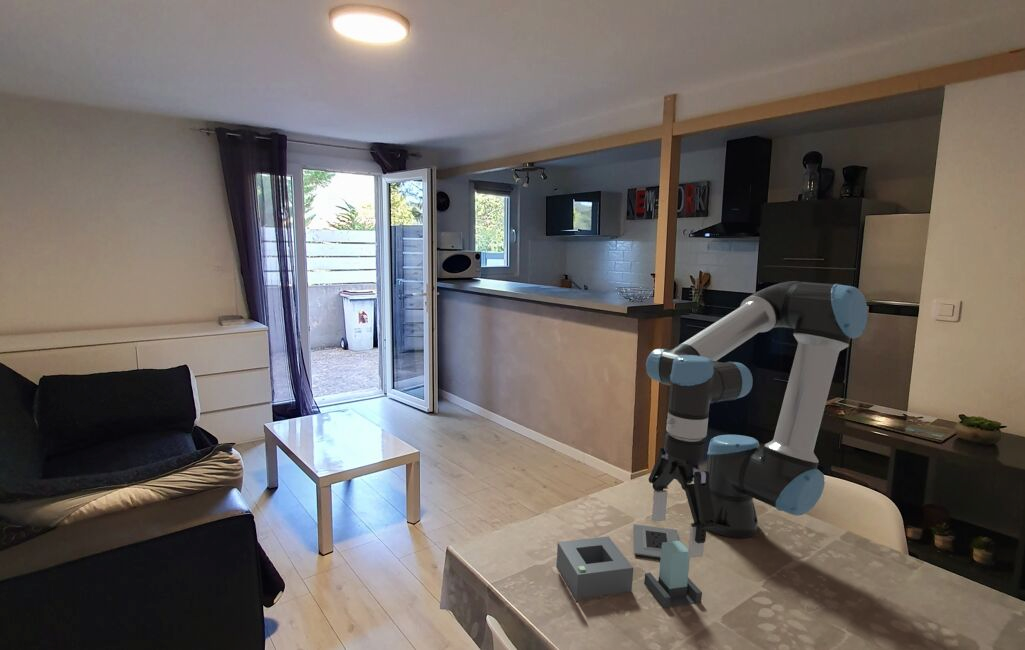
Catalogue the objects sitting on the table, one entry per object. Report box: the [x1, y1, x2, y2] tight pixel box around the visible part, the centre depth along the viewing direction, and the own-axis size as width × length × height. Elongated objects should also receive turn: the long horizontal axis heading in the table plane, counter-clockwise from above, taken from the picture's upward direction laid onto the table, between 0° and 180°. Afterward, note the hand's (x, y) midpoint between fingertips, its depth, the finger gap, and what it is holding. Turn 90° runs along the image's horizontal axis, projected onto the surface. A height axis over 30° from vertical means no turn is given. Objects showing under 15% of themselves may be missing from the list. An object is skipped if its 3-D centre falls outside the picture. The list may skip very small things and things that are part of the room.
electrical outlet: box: [632, 523, 680, 560], centre depth 127 cm, size 13×10×2 cm
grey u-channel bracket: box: [643, 572, 703, 609], centre depth 109 cm, size 8×8×3 cm
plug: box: [657, 540, 691, 600], centre depth 109 cm, size 4×4×10 cm
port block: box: [556, 536, 634, 603], centre depth 113 cm, size 12×12×6 cm
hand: (675, 537), depth 107 cm, fingers open, 13 cm apart
